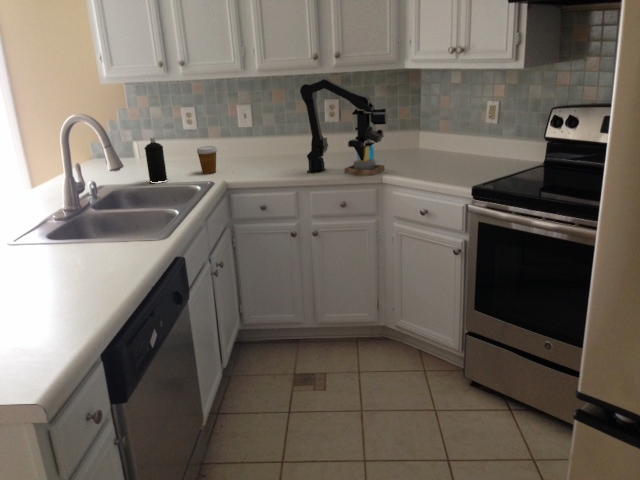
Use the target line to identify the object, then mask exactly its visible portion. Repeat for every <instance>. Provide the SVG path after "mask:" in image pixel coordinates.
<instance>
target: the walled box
mask: <svg viewBox="0 0 640 480" xmlns="http://www.w3.org/2000/svg"><path fill="white" fill-rule="evenodd" d="M383 171H385V165H384V164H375V169H373V170H361V169H354V164H352V165H349V166H347V167H345V168H344V174H348V175H349V174H350V175H360V176H361V175H362V176H370V177H371V176H372V177H373V176H375V175H377V174H379V173H381V172H383Z"/></svg>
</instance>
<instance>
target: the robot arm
mask: <svg viewBox="0 0 640 480" xmlns="http://www.w3.org/2000/svg"><path fill="white" fill-rule="evenodd" d="M322 90H326V91H328V92H331V93H333V94H335V95H336V96H339V97H340V98H343V99H345V100H347V101H348V102H349V103H351V104H352V105H353V106H354V107H355V109H354V111H353V112H352V113H351V114H352V115H354V116H355V115H356V126H355V127H354V128H355V131H356V134H357V135H356V136H355V138H352V139H349V141H347V145H348V147H349V148H353V149H354V150H355V151H356V154H357V153H358V155H359V157H360V159H361V161H363V160H364V151H365V148H366V147H367V146H369V151H370V148H371V146H372V145H373V146H374V144H375V143H379V142H382V138H384V132H383V131H384V130H382V129H378V130H373V126H371V124H373V125H376V126H377V125H378V126H379V125H387V124H388V112H387V108H384V107H383V108H376V107H375V106H374V104H373V103H372V101H371V97H370V96H369V95H367V94H365V93H361V92H355V91H353V90H350V89H348V88H346V87H344V86H342V85H341V84H339V83H337V82H335V81H332V80H330V79H329V78H323V79H321V80H319V81H317V82H308V83H305V84H302V85H301V87H300V89H299V92H300V95H301V99H302V101H303V102H304V104H305V106H306V111H307V116H308V121H309V127H310V132H311V142H310V143H311V144H310V145H311V146H310V149H311V150H310V152H308V154H307V155H306V159H308V161H307V162H308V170H307V171H306V172H307V173H315V174H316V173H322V172H323V171H326V168H325V167H326V166H325V161H324V155H325V153H326V152H327V151H328V147H329V144H328V137H324V136H323V134H322V129H321V123H320V122H321V121H320V118H319V112H318V108H317V99H318V98H317V97H318V92H319V91H322Z"/></svg>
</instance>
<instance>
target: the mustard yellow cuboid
mask: <svg viewBox="0 0 640 480" xmlns="http://www.w3.org/2000/svg"><path fill="white" fill-rule="evenodd" d="M359 161H360V162H368V161H370V151H369V146H367V147H366V148H365V151H364V160H363V161H361V159H360V157H359Z"/></svg>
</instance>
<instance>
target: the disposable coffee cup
mask: <svg viewBox="0 0 640 480" xmlns="http://www.w3.org/2000/svg"><path fill="white" fill-rule="evenodd" d="M217 151H218V149H217V147H216V146H215V145H206V146H205V145H204V146H200V147H197V150H196V153H197V155H198V159H199V163H200V167H201V171H202V174H204V175H211V174H215V173H217Z"/></svg>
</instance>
